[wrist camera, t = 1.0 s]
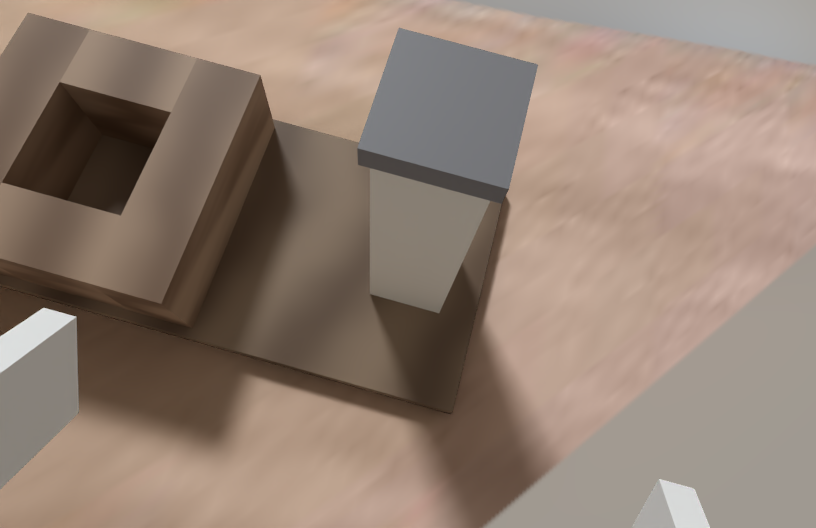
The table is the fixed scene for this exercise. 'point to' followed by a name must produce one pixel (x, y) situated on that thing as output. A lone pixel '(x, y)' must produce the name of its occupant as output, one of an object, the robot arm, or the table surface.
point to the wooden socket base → (207, 215)
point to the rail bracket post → (437, 159)
